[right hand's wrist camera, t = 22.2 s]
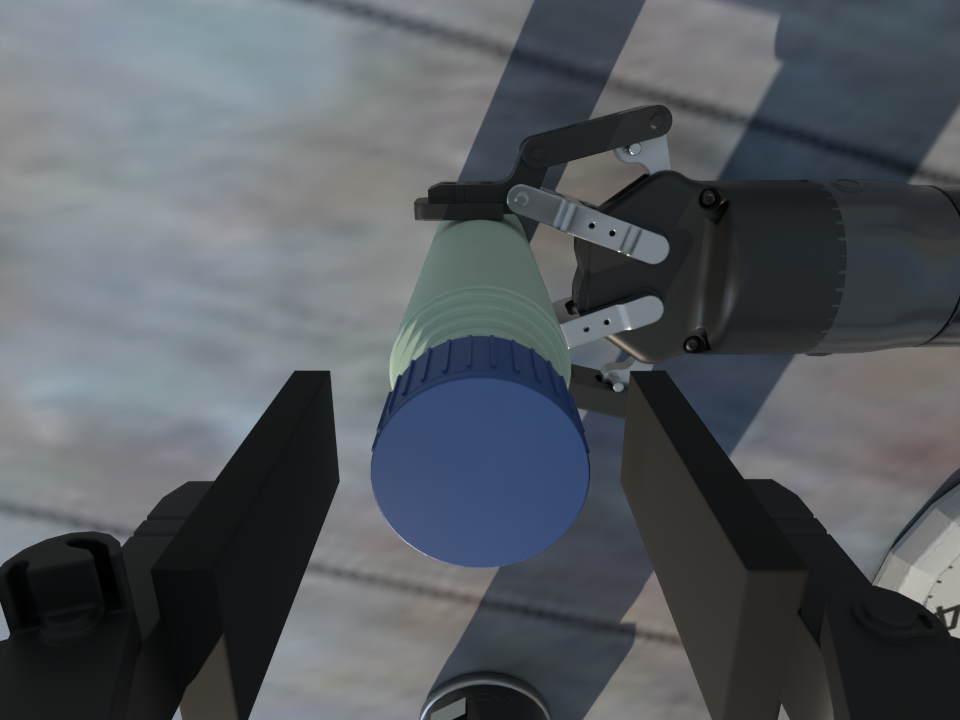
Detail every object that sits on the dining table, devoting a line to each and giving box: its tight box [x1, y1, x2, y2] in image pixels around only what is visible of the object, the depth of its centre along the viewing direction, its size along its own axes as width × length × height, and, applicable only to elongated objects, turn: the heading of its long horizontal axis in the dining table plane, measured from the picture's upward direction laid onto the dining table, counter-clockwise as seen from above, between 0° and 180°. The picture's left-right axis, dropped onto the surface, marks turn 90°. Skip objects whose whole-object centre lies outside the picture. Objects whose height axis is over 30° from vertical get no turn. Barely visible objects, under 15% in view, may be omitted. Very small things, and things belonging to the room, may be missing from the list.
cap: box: [371, 335, 590, 568], centre depth 13 cm, size 4×4×2 cm
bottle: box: [390, 214, 571, 390], centre depth 24 cm, size 5×5×23 cm
